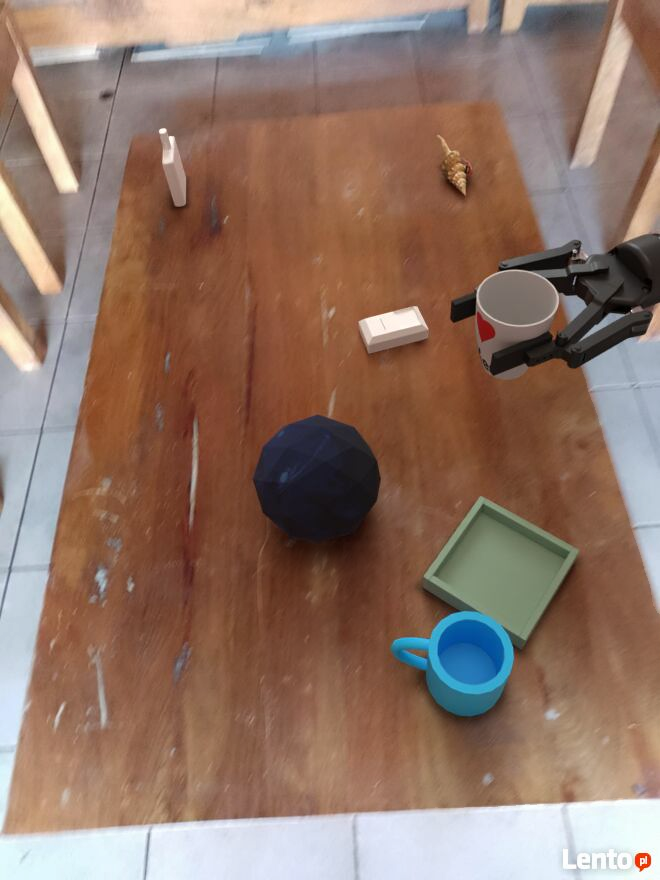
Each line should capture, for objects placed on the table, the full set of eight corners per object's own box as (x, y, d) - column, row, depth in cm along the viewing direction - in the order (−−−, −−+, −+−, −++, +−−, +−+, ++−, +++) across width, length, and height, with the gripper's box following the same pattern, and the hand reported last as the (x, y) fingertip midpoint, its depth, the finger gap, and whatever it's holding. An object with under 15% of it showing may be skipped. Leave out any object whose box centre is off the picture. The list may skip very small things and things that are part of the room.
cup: (466, 336, 83) (473, 270, 75) (537, 335, 82) (553, 268, 74) (471, 391, 78) (479, 327, 70) (547, 390, 78) (564, 325, 69)
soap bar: (358, 330, 106) (358, 317, 103) (416, 315, 106) (417, 302, 104) (368, 353, 103) (368, 341, 101) (428, 338, 104) (428, 325, 101)
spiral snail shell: (488, 189, 122) (492, 166, 118) (464, 200, 120) (467, 177, 117) (440, 151, 129) (442, 128, 125) (416, 161, 127) (418, 138, 124)
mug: (508, 648, 77) (518, 620, 71) (498, 725, 73) (508, 703, 66) (399, 623, 80) (398, 595, 73) (383, 696, 75) (381, 673, 69)
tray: (574, 561, 82) (580, 550, 80) (521, 650, 77) (525, 640, 75) (478, 507, 87) (480, 495, 85) (422, 587, 82) (422, 576, 80)
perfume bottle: (175, 179, 130) (157, 118, 120) (186, 178, 130) (169, 116, 120) (174, 207, 126) (155, 145, 116) (186, 205, 126) (167, 144, 116)
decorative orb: (232, 552, 80) (300, 490, 70) (233, 442, 89) (294, 373, 79) (338, 574, 87) (414, 520, 77) (329, 470, 96) (397, 410, 86)
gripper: (709, 352, 75) (520, 430, 72) (593, 239, 87) (424, 301, 83) (736, 300, 69) (531, 383, 65) (608, 186, 81) (427, 250, 77)
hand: (472, 337), depth 74 cm, fingers closed on cup, 8 cm apart
